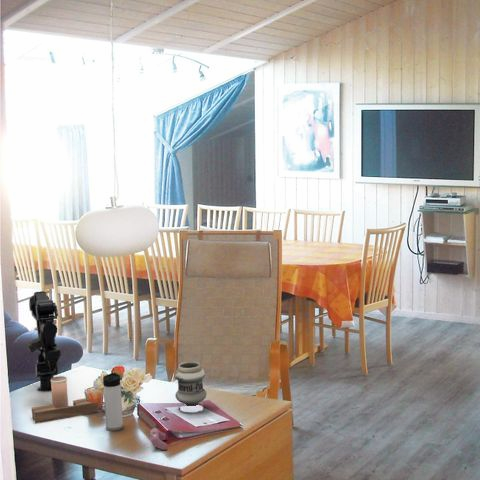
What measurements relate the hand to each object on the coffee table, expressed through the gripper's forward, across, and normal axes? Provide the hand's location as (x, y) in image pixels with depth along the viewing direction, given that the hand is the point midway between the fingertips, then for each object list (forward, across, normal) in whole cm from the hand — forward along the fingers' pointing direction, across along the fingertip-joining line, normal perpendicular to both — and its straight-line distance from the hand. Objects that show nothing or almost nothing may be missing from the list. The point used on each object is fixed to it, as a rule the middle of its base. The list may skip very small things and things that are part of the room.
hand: (49, 368), depth 330 cm
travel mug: (+13, +44, +14) cm, 48 cm away
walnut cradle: (+13, +21, +1) cm, 25 cm away
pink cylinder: (+13, +12, +1) cm, 18 cm away
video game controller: (+13, +67, +24) cm, 73 cm away
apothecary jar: (+13, +39, +46) cm, 62 cm away
